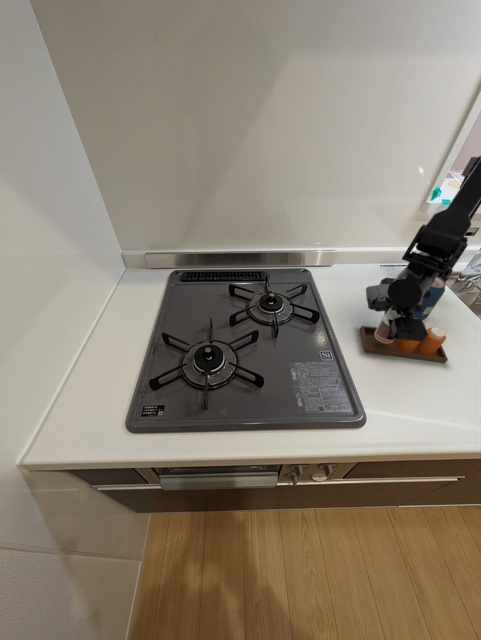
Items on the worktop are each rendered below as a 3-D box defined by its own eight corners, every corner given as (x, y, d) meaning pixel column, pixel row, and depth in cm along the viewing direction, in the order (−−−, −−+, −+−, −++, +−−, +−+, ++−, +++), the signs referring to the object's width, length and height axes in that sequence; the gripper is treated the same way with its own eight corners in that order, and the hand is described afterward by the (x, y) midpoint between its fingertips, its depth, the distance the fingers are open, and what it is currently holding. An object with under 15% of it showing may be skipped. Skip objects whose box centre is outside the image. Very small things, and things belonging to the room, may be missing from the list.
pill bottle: (395, 345, 69) (410, 321, 63) (375, 342, 70) (388, 318, 64) (391, 331, 72) (405, 308, 66) (372, 328, 73) (384, 305, 67)
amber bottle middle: (394, 338, 73) (404, 321, 69) (411, 340, 73) (423, 323, 68) (397, 351, 70) (409, 334, 66) (416, 353, 70) (428, 336, 65)
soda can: (395, 307, 83) (413, 274, 75) (416, 304, 84) (436, 272, 76) (409, 323, 78) (430, 290, 70) (431, 320, 79) (454, 287, 71)
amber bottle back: (413, 341, 73) (425, 323, 68) (431, 343, 72) (444, 326, 68) (418, 354, 70) (431, 337, 65) (437, 356, 69) (451, 339, 65)
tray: (359, 330, 76) (361, 325, 75) (433, 340, 74) (437, 334, 73) (363, 353, 70) (366, 348, 69) (443, 364, 68) (448, 359, 67)
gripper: (369, 254, 66) (350, 303, 77) (384, 306, 53) (358, 356, 64) (418, 259, 65) (391, 308, 76) (446, 313, 52) (409, 363, 63)
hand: (387, 331), depth 69 cm, fingers closed on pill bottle, 5 cm apart
